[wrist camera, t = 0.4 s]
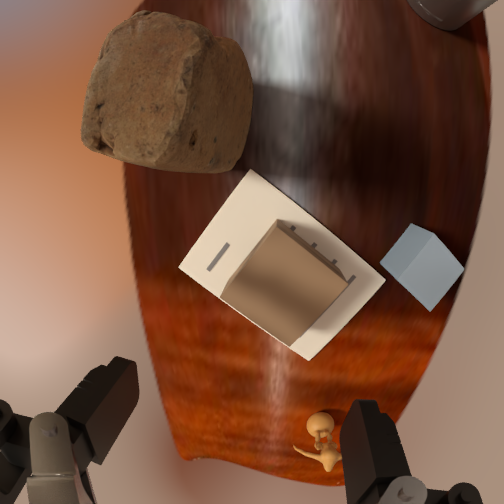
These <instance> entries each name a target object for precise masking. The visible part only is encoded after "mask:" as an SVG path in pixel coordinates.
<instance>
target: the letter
mask: <svg viewBox="0 0 504 504" xmlns="http://www.w3.org/2000/svg"><path fill="white" fill-rule="evenodd" d="M276 219H278V220H279V221H281V222H282V223H283V224H285V225H286V226H287V227H288V228H290V229H291V230H292V231H293V232H295V233H296V234H297V235H298V236H300V237H301V238H302V239H303V240H305V241H306V242H307V243H308V244H310V245H311V246H312V247H313V248H315V249H316V250H317V251H318V252H320V253H321V254H322V255H323V256H325V257H326V258H327V259H328V260H329V261H331V262H332V263H333V264H334V265H336V266H337V267H338V268H339V269H340V270H341V272H342V274H343V276H344V277H345V279H346V281H347V282H348V286H347V287H346V288H345V289H344V290H343V291H342V292H341V293H340V294H339V296H338V297H337V298H336V299H335V300H334V301H333V302H332V303H331V304H330V305H329V307H328V308H327V309H326V310H325V311H324V312H323V313H322V314H321V315H320V316H319V317H318V318H317V319H316V320H315V321H314V323H313V324H312V325H311V326H310V327H309V328H308V329H307V330H306V331H305V332H304V333H303V334H302V335H301V336H300V337H299V338H298V339H297V340H296V341H295V342H294V343H293V344H292V345H291V346H290V347H289V346H287V345H286V344H284V343H283V342H281V341H280V340H279V339H277V338H276V337H274V336H273V335H271V334H270V333H269V332H267V331H266V330H264V329H263V328H261V327H260V326H259V325H257V324H256V323H254V322H253V321H251V320H250V319H249V318H247V317H246V316H244V315H243V314H242V313H240V312H239V311H238V310H236V309H235V308H233V307H232V306H231V305H229V304H228V303H227V302H225V301H224V300H222V299H221V298H220V296H221V294H222V291H223V289H224V287H225V285H226V283H227V281H228V280H229V278H230V277H231V276H232V275H233V273H234V272H235V271H236V270H237V268H238V267H239V266H240V265H241V263H242V262H243V261H244V260H245V258H246V257H247V256H248V255H249V253H250V252H251V251H252V250H253V248H254V247H255V246H256V245H257V243H258V242H259V241H260V239H261V238H262V237H263V236H264V234H265V233H266V232H267V231H268V229H269V228H270V227H271V226H272V224H273V223H274V222H275V221H276ZM178 268H180V269H181V270H182V271H184V272H185V273H186V274H188V275H189V276H190V277H192V278H193V279H194V280H195V281H197V282H198V283H199V284H201V285H202V286H203V287H205V288H206V289H207V290H209V291H210V292H211V293H213V294H214V295H215V296H217V297H218V298H219V299H221V300H222V301H224V302H225V303H226V304H228V305H229V306H230V307H232V308H233V309H235V310H236V311H237V312H239V313H240V314H241V315H243V316H244V317H246V318H247V319H248V320H250V321H251V322H253V323H254V324H255V325H257V326H258V327H260V328H261V329H263V330H264V331H265V332H267V333H268V334H270V335H271V336H273V337H274V338H275V339H277V340H278V341H280V342H281V343H283V344H284V345H286V346H287V347H289V348H290V349H292V350H293V351H295V352H296V353H298V354H299V355H300V356H302V357H303V358H305V359H306V360H308V361H309V360H310V359H311V358H313V357H314V356H315V355H316V354H317V353H318V352H319V351H320V350H321V349H322V348H323V347H324V346H325V345H326V344H327V343H328V342H329V341H330V340H331V339H332V338H333V337H334V336H335V335H336V334H337V333H338V332H339V331H340V330H341V329H342V328H343V327H344V326H345V325H346V324H347V323H348V322H349V321H350V319H351V318H352V317H353V316H354V315H355V314H356V313H357V312H358V311H359V310H360V309H361V308H362V307H363V306H364V304H365V303H366V302H367V301H368V300H369V299H370V298H371V297H372V296H373V295H374V293H375V292H376V291H377V290H378V289H379V288H380V287H381V285H382V284H383V283H384V282H385V281H386V280H385V279H384V278H383V277H382V276H381V275H380V274H379V273H378V272H376V271H375V270H374V269H373V268H372V267H371V266H370V265H369V264H367V263H366V262H365V261H364V260H363V259H362V258H361V257H359V256H358V255H357V254H356V253H355V252H354V251H352V250H351V249H350V248H349V247H348V246H347V245H345V244H344V243H343V242H342V241H341V240H340V239H338V238H337V237H336V236H335V235H334V234H332V233H331V232H330V231H329V230H328V229H326V228H325V227H324V226H323V225H322V224H320V223H319V222H318V221H317V220H315V219H314V218H313V217H312V216H311V215H309V214H308V213H307V212H306V211H304V210H303V209H302V208H301V207H299V206H298V205H297V204H296V203H294V202H293V201H292V200H291V199H289V198H288V197H287V196H285V195H284V194H283V193H282V192H280V191H279V190H278V189H276V188H275V187H274V186H273V185H271V184H270V183H269V182H267V181H266V180H265V179H263V178H262V177H261V176H259V175H258V174H257V173H256V172H254V171H253V170H252V169H250V170H249V171H248V173H247V174H246V175H245V177H244V178H243V179H242V180H241V182H240V183H239V184H238V186H237V187H236V188H235V190H234V191H233V192H232V194H231V195H230V196H229V198H228V199H227V200H226V202H225V203H224V204H223V206H222V207H221V209H220V210H219V211H218V213H217V214H216V215H215V217H214V218H213V219H212V221H211V222H210V224H209V225H208V226H207V228H206V229H205V230H204V232H203V233H202V235H201V236H200V237H199V239H198V240H197V242H196V243H195V244H194V246H193V247H192V249H191V250H190V251H189V253H188V254H187V256H186V257H185V259H184V260H183V261H182V263H181V264H180V266H179V267H178Z"/></svg>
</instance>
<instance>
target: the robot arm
mask: <svg viewBox="0 0 504 504" xmlns="http://www.w3.org/2000/svg"><path fill="white" fill-rule="evenodd" d="M407 1H408V3H409V4H410V6H411V7H412V8H413V10H414V11H415V12H416V13H417V14H418V15H419V16H420V17H421V18H423V19H424V20H425V21H427V22H428V23H430V24H431V25H433V26H435V27H437V28H440V29H443V30H451V31H452V30H456V29H458V28H459V27H461V26H462V25H463V24H465V23H466V22H467V21H469V20H470V19H472V18H473V17H475V16H476V15H477V14H479V13H480V12H482V11H483V10H484V9H486V8H487V7H489V6H490V5H491V4H493V3H494V2H496V1H497V0H407ZM138 399H139V383H138V374H137V365H136V362H134V361H132V360H128V359H125V358H122V357H118V356H116V357H114V358H113V359H112V361H111V362H110V363H109V364H108V365H107V366H104V365H100V366H98V367H97V368H94V369H93V370H91V371H90V372H89V373H88V374H87V375H86V376H85V377H84V379H83V381H81V382H80V383H79V384H78V385H77V388H75V389H74V390H73V391H72V392H71V394H70V395H69V396H68V397H67V398H66V399H65V401H64V402H63V403H62V404H61V405H60V406H59V408H58V409H57V410H56V411H55V412H54V413H53V412H44V413H41V414H38V415H37V416H35V417H34V418H31V417H27V416H22V415H18V414H15V413H13V411H12V409H11V407H10V405H9V404H8V403H7V402H5V401H4V400H0V504H14V502H15V500H16V498H17V497H18V495H19V493H20V492H21V490H22V488H23V487H24V485H25V483H26V482H27V491H28V498H29V504H97V501H96V497H95V494H94V491H93V487H92V484H91V480H90V476H89V473H88V469H87V467H88V465H89V463H90V462H91V461H93V462H95V463H97V464H99V465H101V464H102V462H103V461H104V459H105V457H106V456H107V454H108V452H109V451H110V449H111V447H112V445H113V444H114V442H115V440H116V439H117V437H118V435H119V433H120V432H121V430H122V428H123V427H124V425H125V423H126V422H127V420H128V418H129V417H130V415H131V413H132V412H133V410H134V408H135V407H136V405H137V402H138ZM400 443H401V441H400V438H399V436H398V432H397V429H396V426H395V423H394V422H393V421H392V419H391V418H390V417H389V416H388V415H387V414H386V413H380V411H379V408H378V404H377V402H376V401H375V400H362V399H356V400H354V402H353V403H352V406H351V408H350V410H349V412H348V414H347V416H346V419H345V421H344V423H343V425H342V427H341V431H340V448H341V455H342V463H343V471H344V479H345V487H346V496H347V504H483V503H482V499H481V497H480V493H479V491H478V490H477V488H476V487H475V486H473V485H472V484H469V483H458V484H456V485H454V486H453V487H452V488H451V489H450V490H449V491H442V490H433V489H427V488H426V487H425V485H424V484H423V482H422V481H420V480H419V479H417V478H415V477H412V475H411V473H410V469H409V466H408V463H407V460H406V457H405V453H404V450H403V447H402V444H400ZM31 474H32V476H30V475H31Z"/></svg>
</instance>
